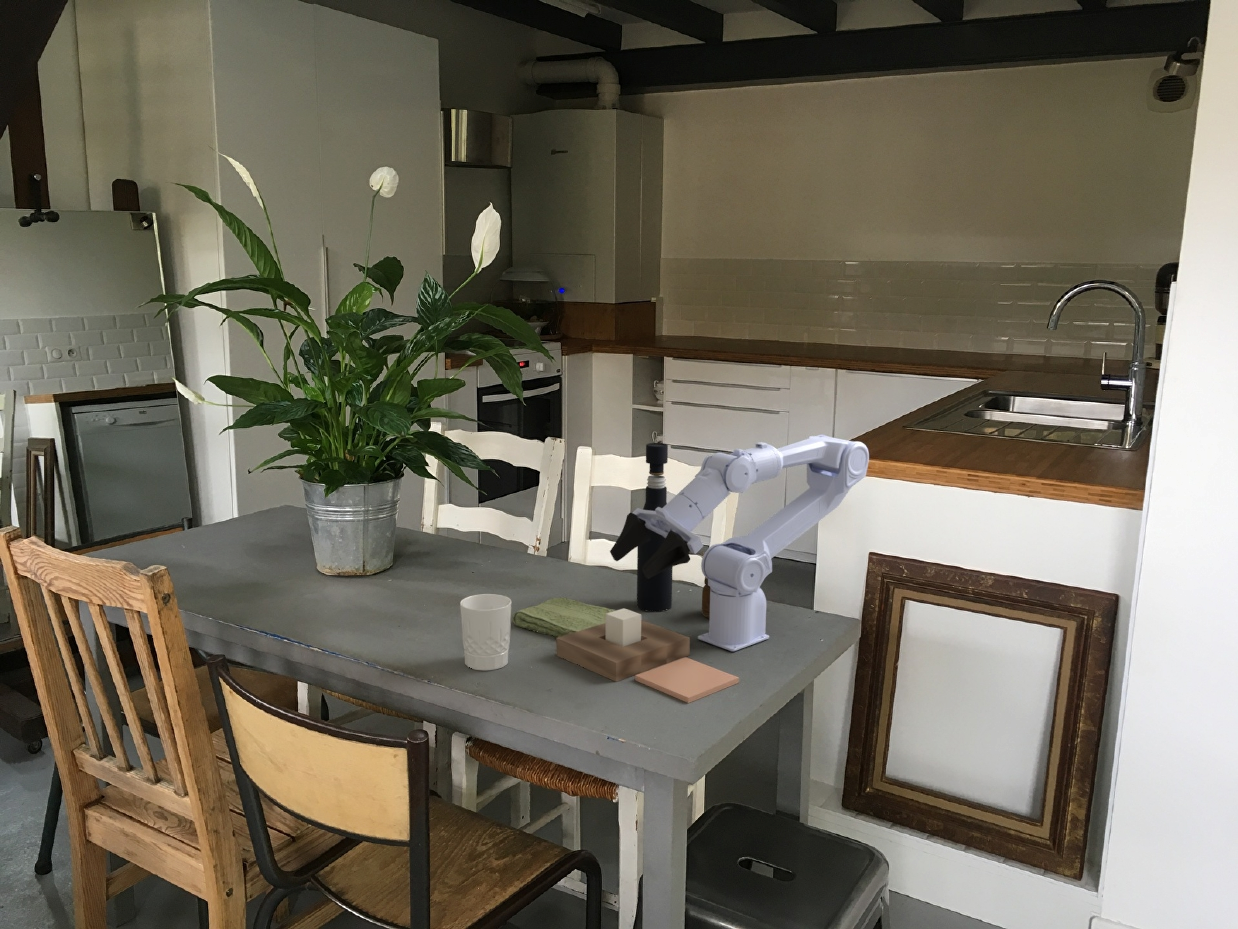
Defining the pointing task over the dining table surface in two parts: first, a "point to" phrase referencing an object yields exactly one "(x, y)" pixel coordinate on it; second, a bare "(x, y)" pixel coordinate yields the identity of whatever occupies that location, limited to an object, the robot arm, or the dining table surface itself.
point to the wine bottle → (654, 536)
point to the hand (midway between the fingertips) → (628, 565)
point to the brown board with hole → (622, 650)
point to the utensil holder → (706, 598)
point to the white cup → (486, 630)
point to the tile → (687, 679)
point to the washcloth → (560, 617)
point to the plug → (623, 627)
